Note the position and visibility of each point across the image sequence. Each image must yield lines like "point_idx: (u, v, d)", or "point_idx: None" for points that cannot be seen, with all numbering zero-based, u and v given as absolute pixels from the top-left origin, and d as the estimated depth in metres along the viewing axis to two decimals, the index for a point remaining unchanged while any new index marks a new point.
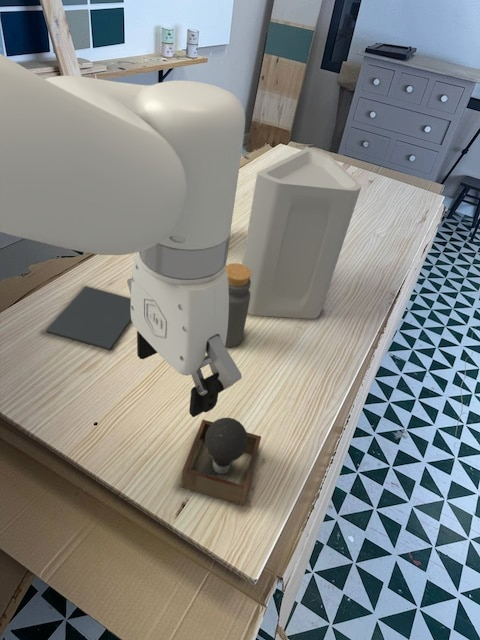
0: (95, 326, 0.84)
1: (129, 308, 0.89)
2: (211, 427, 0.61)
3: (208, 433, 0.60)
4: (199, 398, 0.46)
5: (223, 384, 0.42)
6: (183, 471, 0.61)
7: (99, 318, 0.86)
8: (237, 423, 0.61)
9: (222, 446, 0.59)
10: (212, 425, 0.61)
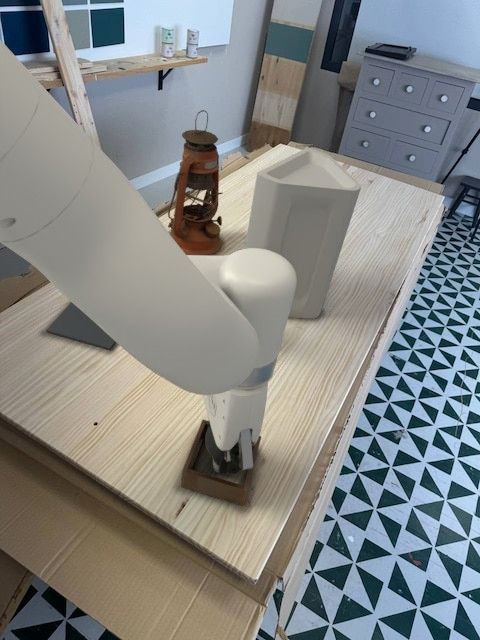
0: (95, 326, 0.84)
1: None
2: None
3: (208, 433, 0.60)
4: (226, 462, 0.59)
5: (239, 463, 0.54)
6: (183, 471, 0.61)
7: None
8: None
9: None
10: None
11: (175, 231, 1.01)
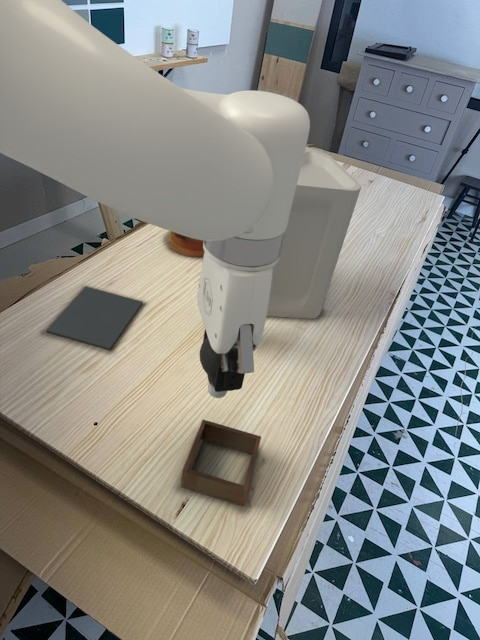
0: (95, 326, 0.84)
1: (129, 308, 0.89)
2: (207, 339, 0.53)
3: (203, 345, 0.53)
4: (223, 376, 0.51)
5: (237, 368, 0.47)
6: (183, 471, 0.61)
7: (99, 318, 0.86)
8: None
9: (218, 358, 0.51)
10: None
11: None
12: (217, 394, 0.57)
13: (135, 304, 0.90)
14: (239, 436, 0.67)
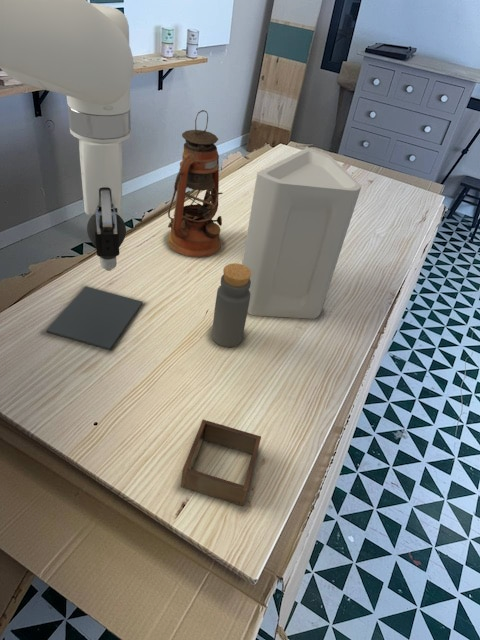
0: (95, 326, 0.84)
1: (129, 308, 0.89)
2: (91, 216, 0.68)
3: None
4: (101, 241, 0.66)
5: (102, 225, 0.62)
6: (183, 471, 0.61)
7: (99, 318, 0.86)
8: None
9: None
10: (93, 215, 0.69)
11: (175, 231, 1.01)
12: (106, 265, 0.72)
13: (135, 304, 0.90)
14: (239, 436, 0.67)
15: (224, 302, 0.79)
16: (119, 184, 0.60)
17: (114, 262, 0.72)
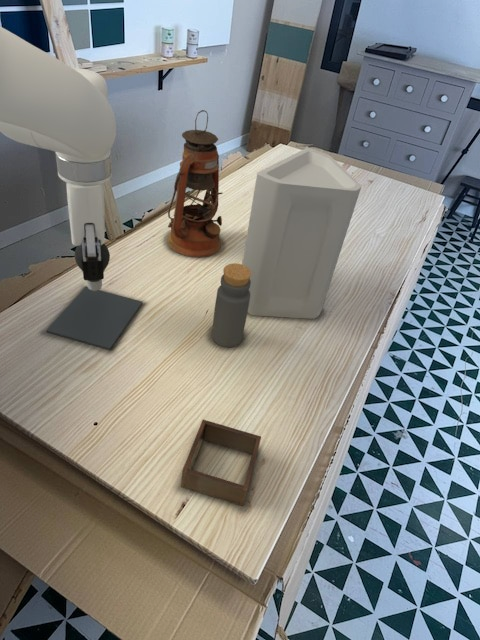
0: (95, 326, 0.84)
1: (129, 308, 0.89)
2: None
3: (76, 248, 0.77)
4: (87, 267, 0.75)
5: (87, 255, 0.70)
6: (183, 471, 0.61)
7: (99, 318, 0.86)
8: None
9: None
10: None
11: (175, 231, 1.01)
12: (92, 287, 0.80)
13: (135, 304, 0.90)
14: (239, 436, 0.67)
15: (224, 302, 0.79)
16: (102, 219, 0.69)
17: (100, 284, 0.81)
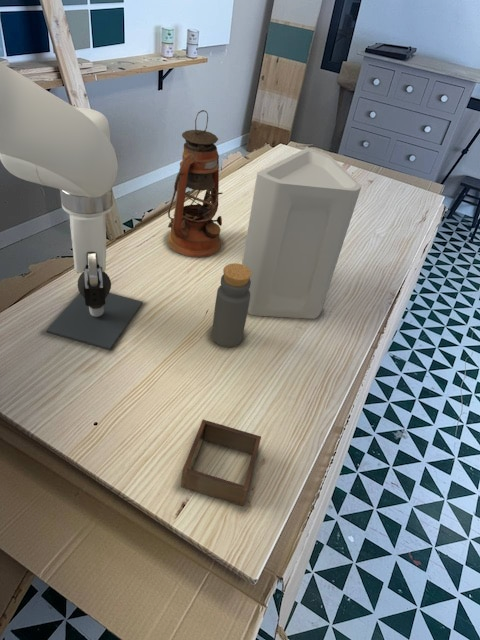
0: (95, 326, 0.84)
1: (129, 308, 0.89)
2: None
3: None
4: (89, 293, 0.76)
5: (89, 281, 0.72)
6: (183, 471, 0.61)
7: (99, 318, 0.86)
8: None
9: None
10: None
11: (175, 231, 1.01)
12: (94, 313, 0.84)
13: (135, 304, 0.90)
14: (239, 436, 0.67)
15: (224, 302, 0.79)
16: (103, 248, 0.72)
17: (101, 310, 0.85)
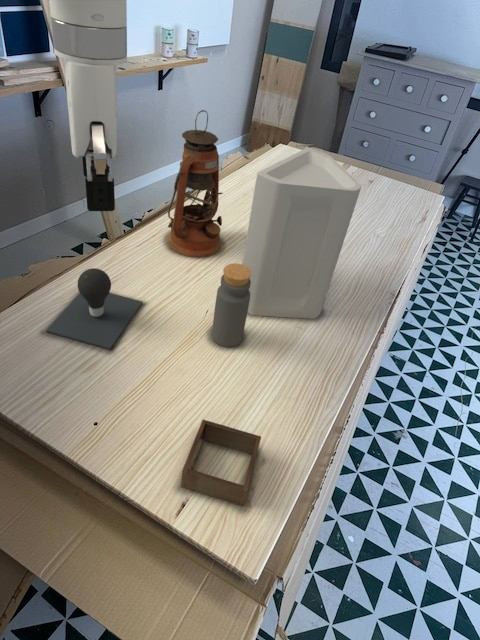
0: (95, 326, 0.84)
1: (129, 308, 0.89)
2: None
3: None
4: (92, 191, 0.55)
5: (94, 163, 0.50)
6: (183, 471, 0.61)
7: (99, 318, 0.86)
8: (101, 271, 0.81)
9: (86, 284, 0.79)
10: None
11: (175, 231, 1.01)
12: (94, 313, 0.84)
13: (135, 304, 0.90)
14: (239, 436, 0.67)
15: (224, 302, 0.79)
16: (114, 118, 0.51)
17: (101, 310, 0.85)
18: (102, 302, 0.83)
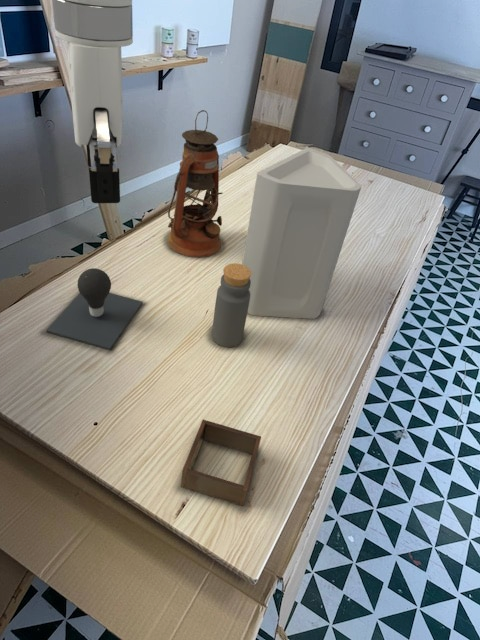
0: (95, 326, 0.84)
1: (129, 308, 0.89)
2: None
3: None
4: (97, 182, 0.52)
5: (98, 152, 0.47)
6: (183, 471, 0.61)
7: (99, 318, 0.86)
8: (101, 271, 0.81)
9: (86, 284, 0.79)
10: None
11: (175, 231, 1.01)
12: (94, 313, 0.84)
13: (135, 304, 0.90)
14: (239, 436, 0.67)
15: (224, 302, 0.79)
16: (119, 104, 0.48)
17: (101, 310, 0.85)
18: (102, 302, 0.83)
